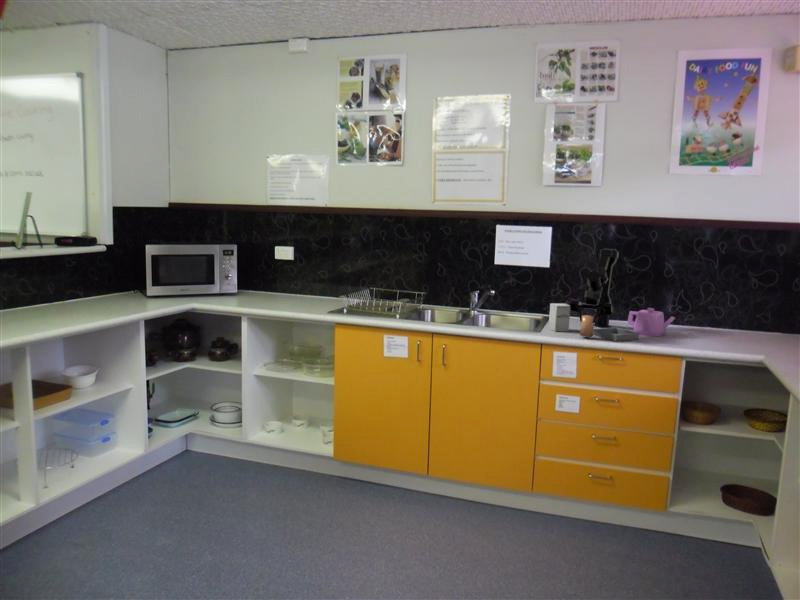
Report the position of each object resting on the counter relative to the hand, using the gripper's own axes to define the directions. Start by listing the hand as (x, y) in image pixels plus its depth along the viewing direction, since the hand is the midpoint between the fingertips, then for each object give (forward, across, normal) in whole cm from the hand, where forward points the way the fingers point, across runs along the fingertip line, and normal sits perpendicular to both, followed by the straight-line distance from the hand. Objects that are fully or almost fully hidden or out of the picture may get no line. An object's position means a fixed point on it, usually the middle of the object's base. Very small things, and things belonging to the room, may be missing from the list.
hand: (587, 321), depth 283 cm
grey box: (-3, -16, +14) cm, 21 cm away
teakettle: (-16, +23, +27) cm, 39 cm away
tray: (-2, +11, +13) cm, 17 cm away
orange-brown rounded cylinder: (+4, 0, +6) cm, 7 cm away
